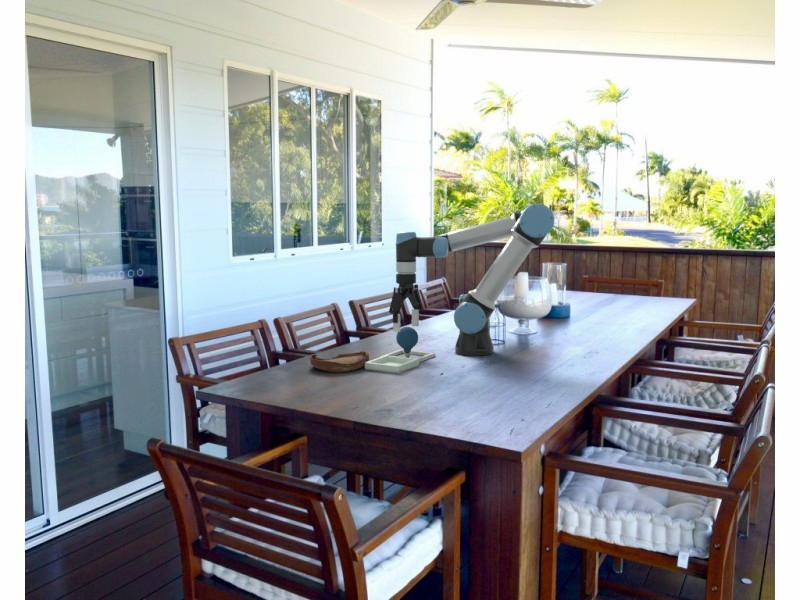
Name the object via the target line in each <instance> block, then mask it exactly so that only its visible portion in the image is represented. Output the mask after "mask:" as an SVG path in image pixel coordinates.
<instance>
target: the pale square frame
mask: <svg viewBox="0 0 800 600" xmlns="http://www.w3.org/2000/svg"><path fill="white" fill-rule="evenodd" d="M401 354H405V352H404V349H403V348H402V349H398V350H395V351H392V352H388V353H387V354H383V355H381V356H379V357H378V358H380V357H383V356H386V355H388V356H398V355H401ZM410 355H414V356H415V355H416V356H420V357H417V358H416V359H419V363H421V362H423V361H426V360H428V359H432V358H434V357H436V352H430V351H420V350H412V349H411V352H410Z"/></svg>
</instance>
